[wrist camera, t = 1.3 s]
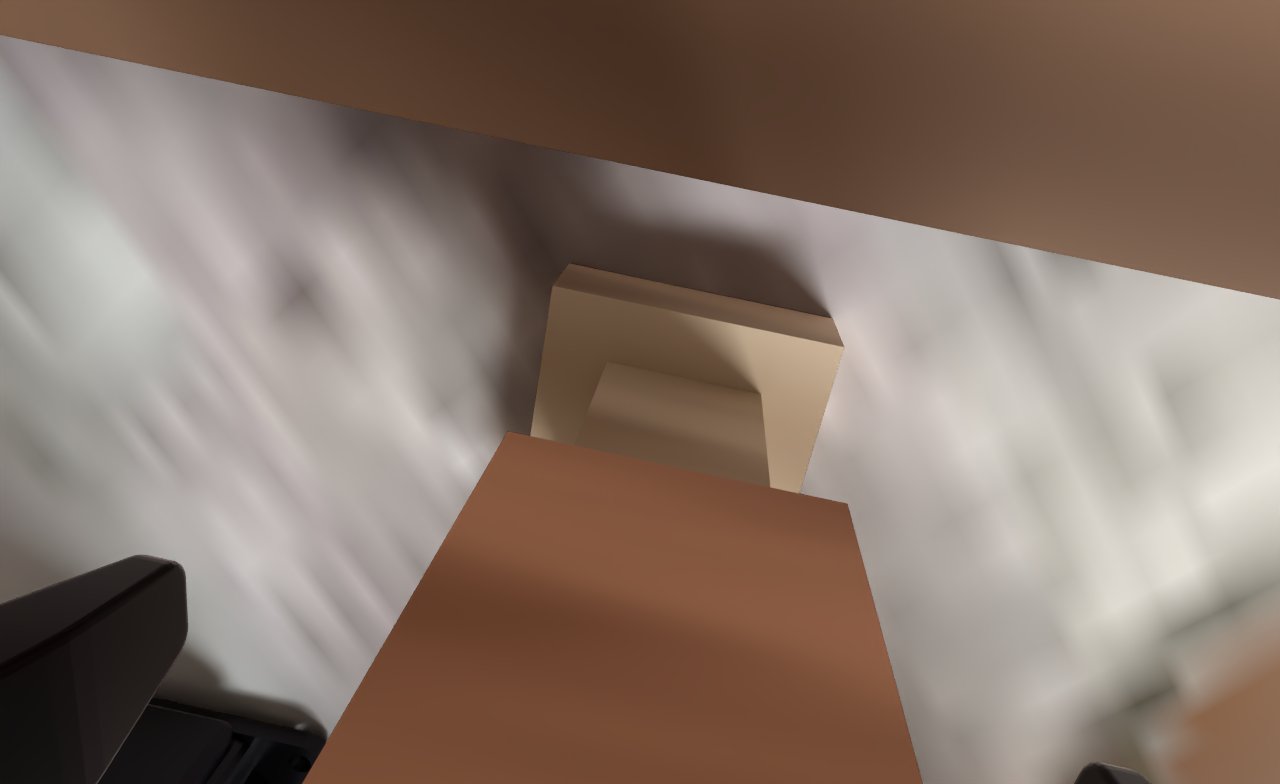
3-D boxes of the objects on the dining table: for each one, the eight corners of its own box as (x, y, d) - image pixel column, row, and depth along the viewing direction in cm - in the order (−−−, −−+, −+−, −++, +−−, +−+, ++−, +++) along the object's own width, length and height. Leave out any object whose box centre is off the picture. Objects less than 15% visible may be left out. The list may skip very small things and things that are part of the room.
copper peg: (766, 541, 15) (838, 1418, 5) (533, 491, 15) (191, 1265, 5) (832, 318, 13) (1118, 1027, 4) (569, 263, 13) (155, 807, 4)
